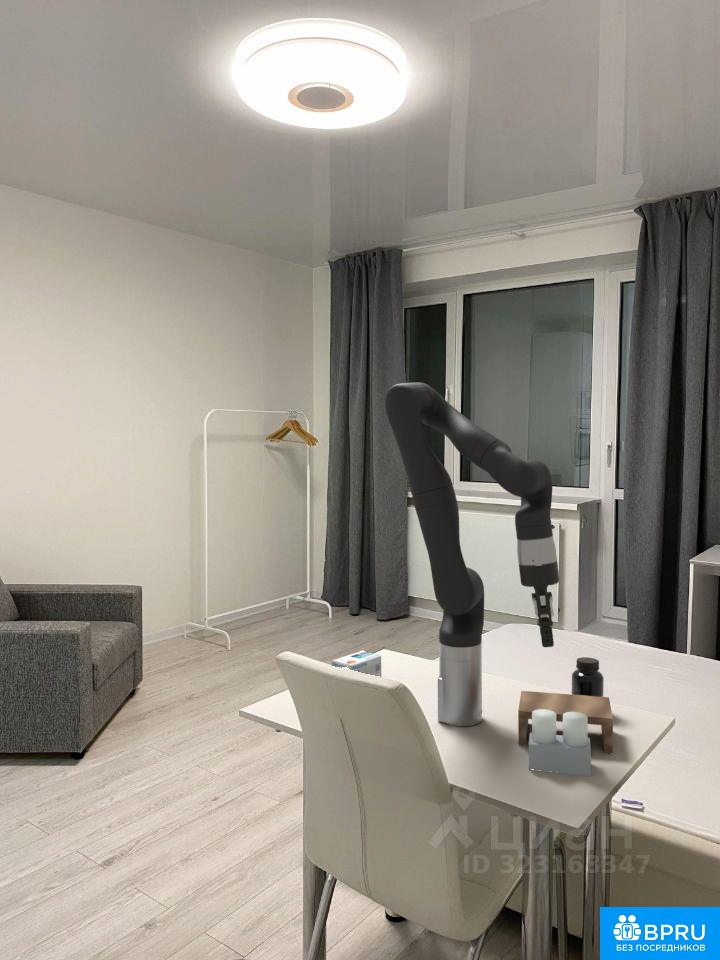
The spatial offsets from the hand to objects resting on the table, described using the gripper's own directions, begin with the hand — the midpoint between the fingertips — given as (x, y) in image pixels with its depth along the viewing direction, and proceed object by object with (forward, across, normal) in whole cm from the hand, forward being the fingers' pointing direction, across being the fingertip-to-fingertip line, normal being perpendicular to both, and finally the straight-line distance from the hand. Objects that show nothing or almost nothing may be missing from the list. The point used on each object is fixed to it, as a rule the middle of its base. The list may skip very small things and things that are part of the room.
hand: (547, 641), depth 146 cm
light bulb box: (+16, -18, -45) cm, 51 cm away
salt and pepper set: (+22, +8, -1) cm, 23 cm away
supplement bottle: (+22, -20, +7) cm, 30 cm away
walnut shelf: (+21, -6, +1) cm, 22 cm away
